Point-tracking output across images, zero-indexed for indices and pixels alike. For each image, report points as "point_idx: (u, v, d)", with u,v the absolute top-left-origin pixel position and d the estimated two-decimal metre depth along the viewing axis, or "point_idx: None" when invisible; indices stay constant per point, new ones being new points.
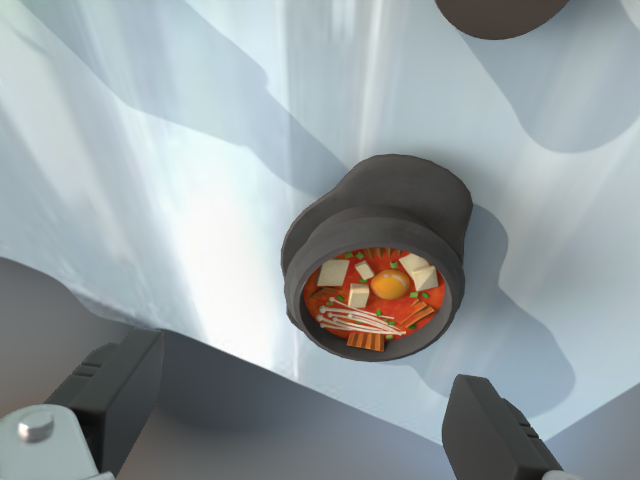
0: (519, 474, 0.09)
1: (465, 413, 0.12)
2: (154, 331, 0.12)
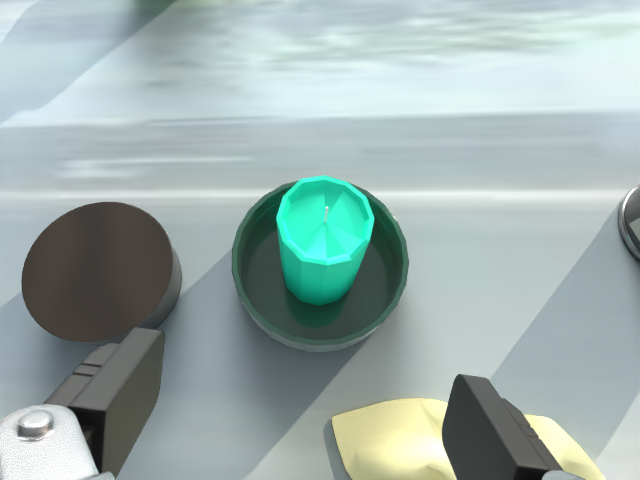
0: (519, 474, 0.09)
1: (465, 413, 0.12)
2: (154, 331, 0.12)
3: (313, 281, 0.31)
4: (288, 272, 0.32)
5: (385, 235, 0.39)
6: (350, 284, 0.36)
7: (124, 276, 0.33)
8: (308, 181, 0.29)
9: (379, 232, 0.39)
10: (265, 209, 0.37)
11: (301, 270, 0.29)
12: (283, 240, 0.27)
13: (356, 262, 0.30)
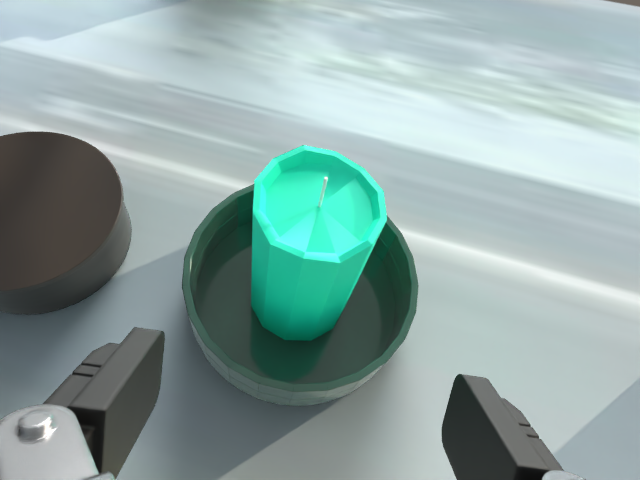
0: (519, 474, 0.09)
1: (465, 413, 0.12)
2: (154, 331, 0.12)
3: (281, 289, 0.22)
4: (254, 274, 0.24)
5: (393, 278, 0.30)
6: (332, 321, 0.27)
7: (47, 222, 0.25)
8: (312, 150, 0.21)
9: (386, 273, 0.31)
10: None
11: (268, 265, 0.21)
12: (254, 210, 0.19)
13: (346, 277, 0.21)
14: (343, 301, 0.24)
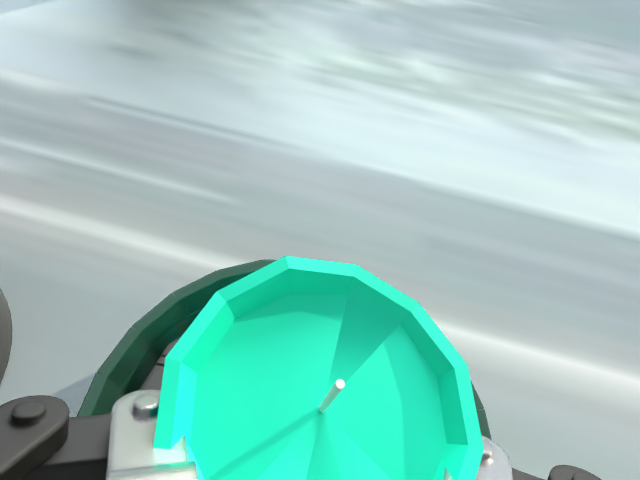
0: None
1: None
2: None
3: None
4: None
5: None
6: None
7: None
8: (305, 268, 0.10)
9: None
10: None
11: None
12: None
13: None
14: None
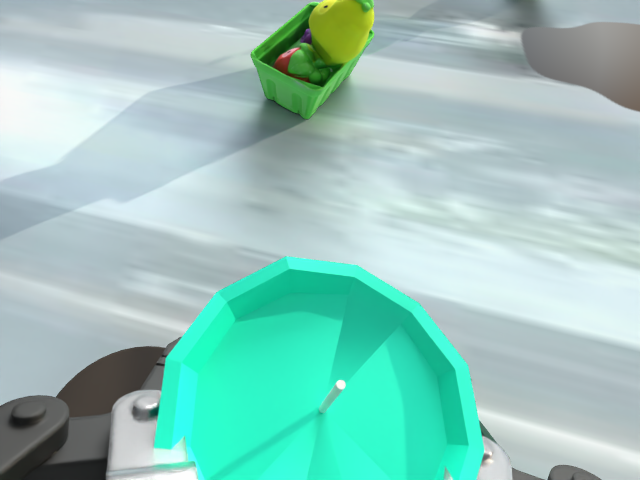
0: None
1: None
2: None
3: None
4: None
5: None
6: None
7: None
8: (306, 268, 0.10)
9: None
10: None
11: None
12: None
13: None
14: None
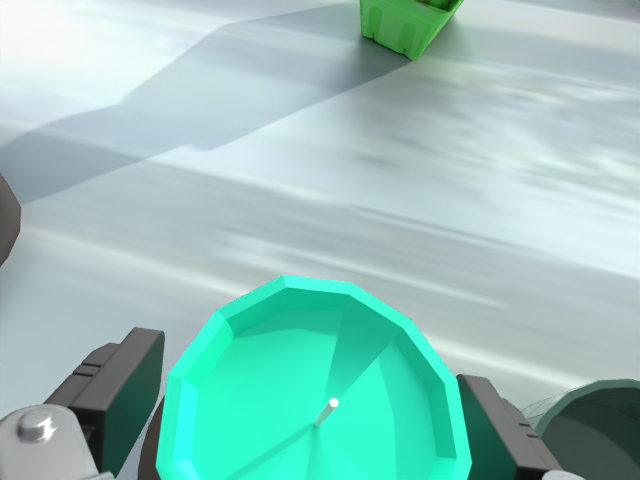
0: (519, 474, 0.09)
1: (465, 413, 0.12)
2: (154, 331, 0.12)
3: None
4: None
5: None
6: None
7: None
8: (302, 286, 0.10)
9: None
10: None
11: None
12: (160, 462, 0.08)
13: None
14: None
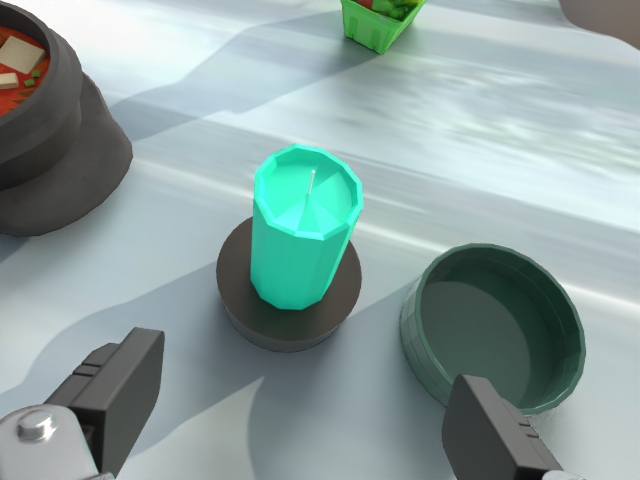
0: (519, 474, 0.09)
1: (465, 413, 0.12)
2: (154, 331, 0.12)
3: (276, 263, 0.27)
4: (253, 251, 0.28)
5: (549, 321, 0.38)
6: (319, 293, 0.31)
7: None
8: (303, 148, 0.26)
9: (541, 316, 0.39)
10: (444, 261, 0.38)
11: (266, 242, 0.25)
12: (255, 196, 0.24)
13: (330, 253, 0.26)
14: (328, 274, 0.29)
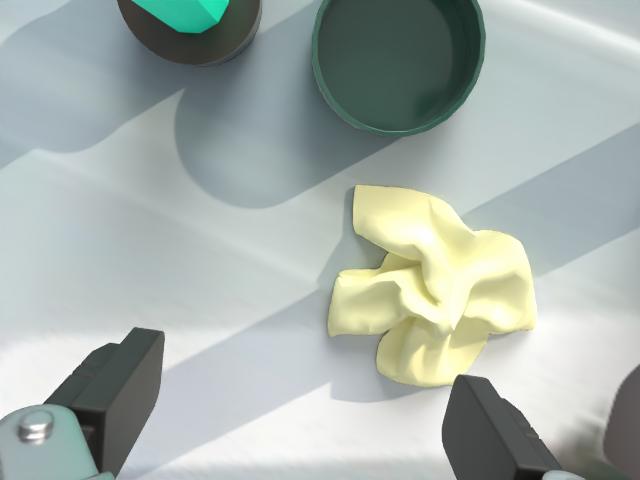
0: (519, 474, 0.09)
1: (465, 413, 0.12)
2: (154, 331, 0.12)
3: None
4: None
5: (467, 41, 0.38)
6: (208, 20, 0.32)
7: None
8: None
9: (463, 34, 0.38)
10: None
11: None
12: None
13: (180, 0, 0.26)
14: (202, 9, 0.30)
